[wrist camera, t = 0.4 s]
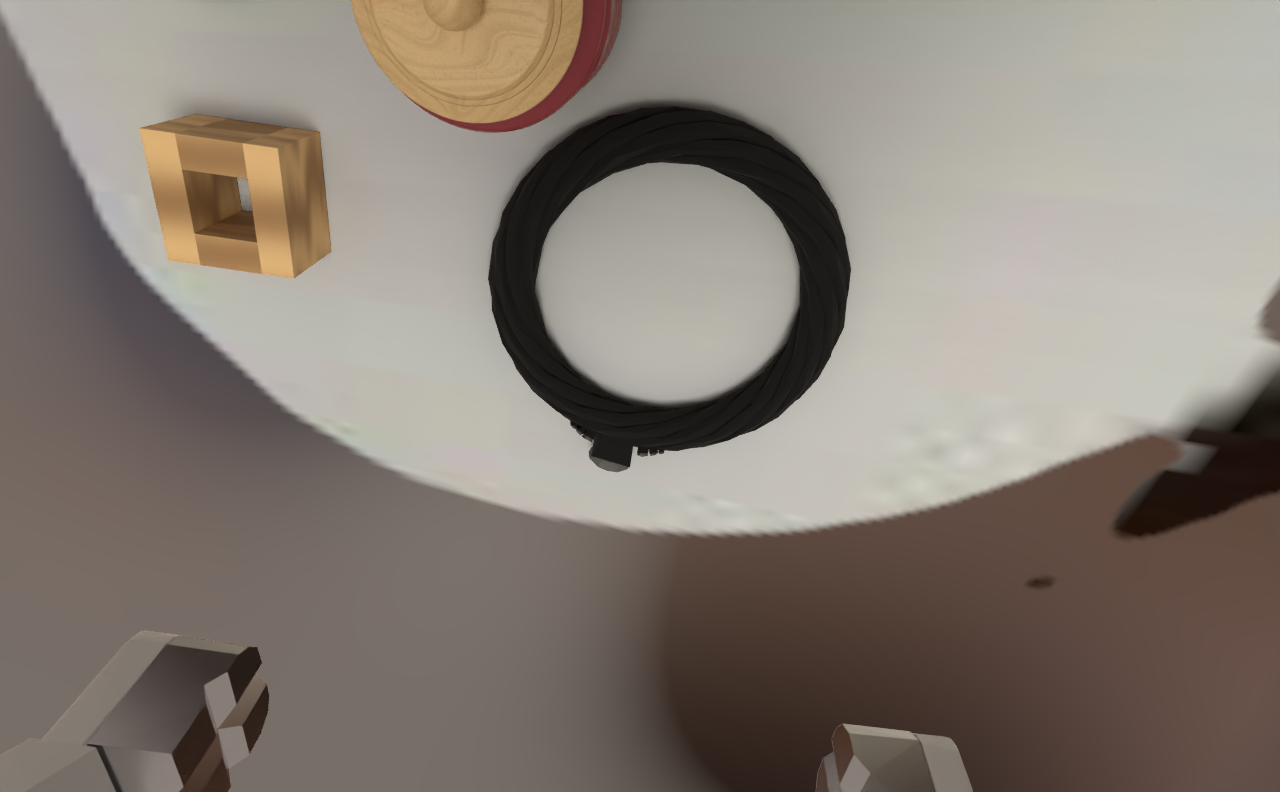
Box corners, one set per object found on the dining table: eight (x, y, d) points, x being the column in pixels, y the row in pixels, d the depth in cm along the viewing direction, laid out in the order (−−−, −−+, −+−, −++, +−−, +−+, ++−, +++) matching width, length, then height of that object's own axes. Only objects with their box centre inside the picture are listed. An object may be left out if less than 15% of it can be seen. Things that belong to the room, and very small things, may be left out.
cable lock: (927, 189, 47) (756, 517, 62) (911, 176, 50) (752, 490, 65) (528, 50, 44) (448, 428, 59) (539, 46, 48) (461, 405, 62)
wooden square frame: (195, 114, 51) (139, 128, 45) (319, 132, 51) (277, 148, 46) (217, 235, 55) (168, 260, 50) (331, 251, 55) (294, 278, 50)
